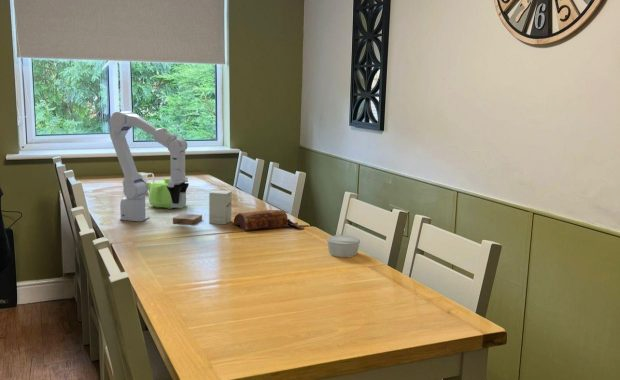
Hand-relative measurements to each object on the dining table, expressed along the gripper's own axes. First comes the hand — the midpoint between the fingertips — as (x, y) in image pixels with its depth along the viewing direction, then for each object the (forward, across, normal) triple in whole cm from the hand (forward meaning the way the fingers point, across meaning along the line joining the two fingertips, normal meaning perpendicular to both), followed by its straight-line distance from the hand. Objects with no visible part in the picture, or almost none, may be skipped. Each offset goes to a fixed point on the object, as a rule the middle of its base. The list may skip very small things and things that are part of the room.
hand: (178, 202), depth 238 cm
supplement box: (+9, +7, -15) cm, 19 cm away
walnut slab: (+9, +4, -2) cm, 10 cm away
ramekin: (+9, -25, -71) cm, 76 cm away
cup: (+9, +57, +44) cm, 73 cm away
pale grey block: (+2, 0, 0) cm, 2 cm away
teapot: (+9, +30, +20) cm, 37 cm away
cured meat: (+9, +6, -37) cm, 39 cm away
